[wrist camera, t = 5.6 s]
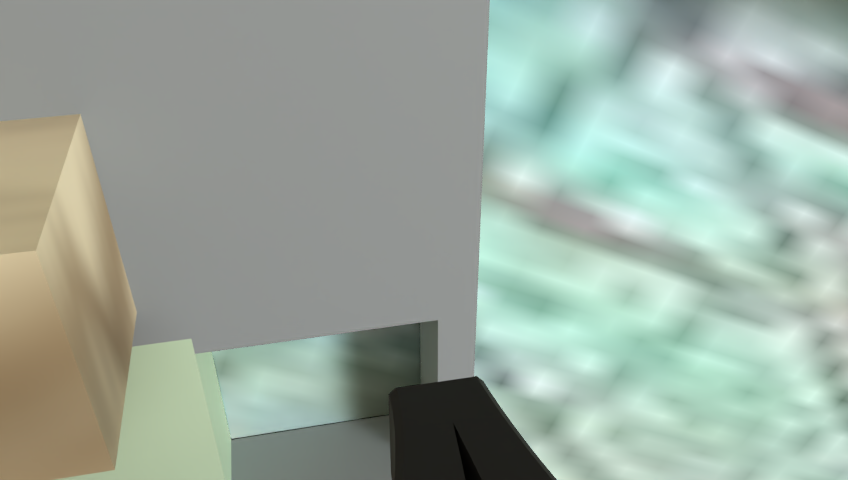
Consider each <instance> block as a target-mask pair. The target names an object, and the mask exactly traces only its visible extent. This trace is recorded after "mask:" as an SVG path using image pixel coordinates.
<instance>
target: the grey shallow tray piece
mask: <svg viewBox="0 0 848 480" xmlns="http://www.w3.org/2000/svg"><path fill="white" fill-rule="evenodd" d="M489 2H490V0H0V121H9V120H20V119H31V118H42V117H53V116H64V115H75V114H81V118H82V121H83V125H84V128H85V132H86V135H87V139H88V142H89V146H90V149H91V153H92V156H93V160H94V163H95V167H96V170H97V174H98V177H99V181H100V184H101V188H102V191H103V195H104V198H105V202H106V205H107V209H108V212H109V216H110V219H111V223H112V227H113V230H114V234H115V237H116V241H117V244H118V248H119V251H120V255H121V258H122V262H123V265H124V269H125V272H126V276H127V279H128V283H129V286H130V290H131V293H132V297H133V300H134V304H135V307H136V311H137V315H136V322H135V329H134V336H133V344H132V351H131V358H130V365H129V373H128V380H127V387H126V394H125V401H124V409H123V416H122V423H121V430H120V438H119V445H118V452H117V459H116V467H115V470H111V471H105V472H99V473H93V474H86V475H80V476H74V477H67V478H61V479H55V480H392V477H391V459H390V425H389V415H386V416H380V417H373V418H367V419H361V420H354V421H348V422H342V423H335V424H329V425H322V426H316V427H310V428H303V429H297V430H291V431H284V432H278V433H271V434H265V435H259V436H252V437H246V438H240V439H233V440H231V437H230V432H229V428H228V423H227V419H226V414H225V410H224V405H223V401H222V396H221V392H220V387H219V383H218V378H217V374H216V369H215V365H214V360H213V356H212V351H220V350H227V349H234V348H241V347H248V346H255V345H263V344H270V343H277V342H284V341H291V340H299V339H306V338H313V337H320V336H327V335H334V334H342V333H349V332H356V331H363V330H370V329H377V328H385V327H392V326H399V325H406V324H413V323H420V375H421V384H426V383H433V382H440V381H447V380H454V379H461V378H468V377H474V361H475V337H476V313H477V289H478V265H479V241H480V217H481V193H482V169H483V146H484V122H485V98H486V74H487V50H488V26H489Z"/></svg>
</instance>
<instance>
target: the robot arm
mask: <svg viewBox="0 0 848 480" xmlns="http://www.w3.org/2000/svg"><path fill="white" fill-rule="evenodd" d="M389 425H390V459H391V477H392V480H556V478H555V477H554V476H553V475H552V474H551V472H550V471H549V470H548V469H547V468H546V466H545V465H544V464H543V463H542V462H541V460H540V459H539V458H538V457H537V455H536V454H535V453H534V452H533V450H532V449H531V448H530V446H529V445H528V444H527V443H526V441H525V440H524V439H523V437H522V436H521V435H520V433H519V432H518V431H517V429H516V428H515V427H514V425H513V424H512V423H511V421H510V420H509V418H508V417H507V416H506V414H505V413H504V411H503V410H502V409H501V407H500V406H499V404H498V403H497V401H496V400H495V398H494V397H493V396H492V394H491V393H490V391H489V390H488V388H487V386H486V385H485V383H484V382H483V381H482V380H481V379H480V378H478V377H477V376H475V377H468V378H461V379H454V380H447V381H440V382H433V383H426V384H419V385H412V386H405V387H398V388H395V389H394V390H393V391H392V392H391V393H390V394H389Z"/></svg>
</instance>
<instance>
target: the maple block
mask: <svg viewBox="0 0 848 480" xmlns="http://www.w3.org/2000/svg"><path fill="white" fill-rule="evenodd" d="M136 315H137V311H136V307H135V304H134V300H133V297H132V293H131V290H130V286H129V283H128V279H127V276H126V272H125V269H124V265H123V262H122V258H121V255H120V251H119V248H118V244H117V241H116V237H115V234H114V230H113V227H112V223H111V219H110V216H109V212H108V209H107V205H106V202H105V198H104V195H103V191H102V188H101V184H100V181H99V177H98V174H97V170H96V167H95V163H94V160H93V156H92V153H91V149H90V146H89V142H88V139H87V135H86V132H85V128H84V125H83V121H82V118H81V114H75V115H64V116H53V117H42V118H31V119H20V120H9V121H0V480H55V479H61V478H67V477H74V476H80V475H86V474H93V473H99V472H105V471H111V470H115V467H116V459H117V452H118V445H119V438H120V430H121V423H122V416H123V409H124V401H125V394H126V387H127V380H128V373H129V365H130V358H131V351H132V344H133V336H134V329H135V322H136Z"/></svg>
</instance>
